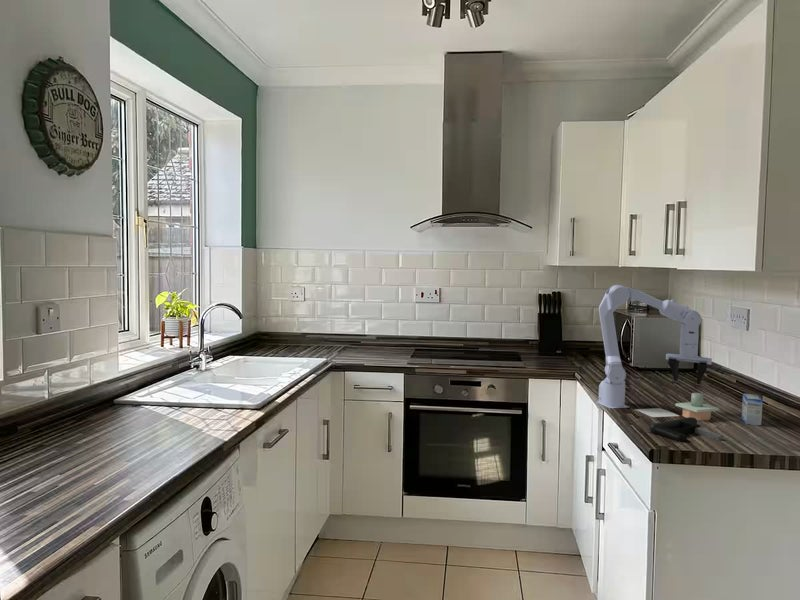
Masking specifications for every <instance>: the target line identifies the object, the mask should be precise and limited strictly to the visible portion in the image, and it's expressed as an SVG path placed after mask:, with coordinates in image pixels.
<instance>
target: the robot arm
mask: <svg viewBox="0 0 800 600" xmlns="http://www.w3.org/2000/svg"><path fill="white" fill-rule="evenodd" d="M627 301H629V302H634V301H635V302H636V301H638V302H639V303H640V302H641V303H643V304H645V305H648V306H650V307H653V308H655V309H658V310H659V311H658V312H659V313H660V315H662V316H664V317H667V318H668V319H670V320H673V321H676V322H679V323H680V334H679V335H680V336H679V337H680V339H679V354H676V353H666V354H665V360H666V361H667V360H668V361H667V364H668V366H669V368H670V370H671V372H672V373H671V374H672V377H673V381H674V382H677V381H678V380H679V367H680V361H681V362H689V363H697V364H696V369H697V377H696V378H697V380H696V384H697V385H701V384H702V380H703V377H704V375H705V372H706V371H707V369H708V367H709V366H710V365H712V364H713V363H712V362H713V361H712V360H713V359H712V357H711V358H710V357H705V356H700V355H698V354H699V334H700V332H699V328H700V327H699V326H700V324H701V323H702V320H703V318H702V316H701V315H700V313H699V312H698V311H696V310H694V309H691V308H690V307H689V306H687V305H685V306H684V305H682V304H679V303H677V302H676V300H675V299H671V300H670V299H665V300H661V299H658V298H656V297H654V296H652V295H650V294H647V293H645V292H643V291H641V290H639V289H635V288H631V287H627V286H625V285H621V284H614V285H612V286H610V287H609V288H608V289H607V290H606V291H605V294H604V296H603V298H602V300H601V301H600V304H599V305H598V315H599V321H600V328H601V334H602V339H603V340H602V341H603V348H604V354H605V366H604V374H605V376H606V377H605V378H604V379H603V380H602V381H601V382H600V383H599V385H598V401H596V403H597V404H600V405H602V406H604V407H606V408H608V409H622V408H623V409H624V408H625V409H626V408H630V406H628V405H627V404H626V403H625V401H626V396H625V395H626V377H627V372H626V369H625V368H624V367H623V363H622V359H621V355H620V350H619V349H620V348H619V345H618V343H619V342H618V337H617V332H616V331H617V330H616V324H615V318H614V317H615V316H614V312H615V311H616V310H617V309H618V307H620V306H621V305H623V304H625V303H626V302H627Z"/></svg>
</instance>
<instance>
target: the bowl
mask: <svg viewBox="0 0 800 600" xmlns="http://www.w3.org/2000/svg"><path fill="white" fill-rule="evenodd" d="M711 415H712V411H707V412H694V411H691V410H688V409H685V408H682V415H681V416H682V417H684V418H688V417H694V418H695V419H696V420H697V421H710V419H711V418H712V417H711Z"/></svg>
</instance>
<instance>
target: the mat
mask: <svg viewBox="0 0 800 600" xmlns="http://www.w3.org/2000/svg"><path fill="white" fill-rule="evenodd" d="M634 410H635V411H636V412H640V413H642V414H644V415H647V416H649V417H651V418H664V417H665V418H667V417H680V415H679V414H677V413H674V412H672V411H669V410H666V409H663V408H656V407H655V408H637V409H636V408H635V409H634Z"/></svg>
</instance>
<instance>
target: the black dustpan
mask: <svg viewBox="0 0 800 600" xmlns="http://www.w3.org/2000/svg"><path fill="white" fill-rule="evenodd" d="M700 426H701V424H699V423H698V420H696V419H695V418H694V417H688V418H686V417H684V418H678V419H672V420H668V421H663V422H662V421H661V422H655V423H651V424H650V426H649V431H650V433H652V434H654V433H657V435H660V436H663V437H665V438H667V437H668V438H667V439H670V438H671V439H670V440H673V439H674V440H673V441H676V440H677V441H676V442H679V441H680V443H683V442H684V441H685V442H686V441H687V440H688V436H687V435H693V433H694V434H697V435H698V436H702V437H706V438H708V437H709V439H713V440H715V439H716V441H723V438H724V435H722V434H720V433H716V432H713V431H710V430H707V429H706V428H702V427H700ZM685 442H684V443H685Z"/></svg>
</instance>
